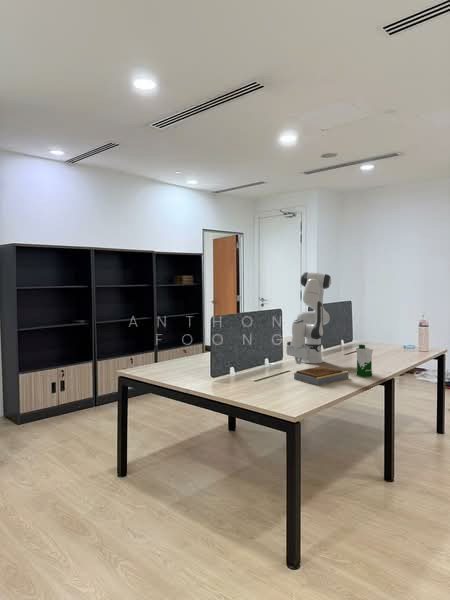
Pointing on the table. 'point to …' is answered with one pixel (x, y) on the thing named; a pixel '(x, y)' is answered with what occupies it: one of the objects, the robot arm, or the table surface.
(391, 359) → the table surface
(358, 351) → the milk carton
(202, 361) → the table surface
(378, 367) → the table surface
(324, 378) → the bay
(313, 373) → the diary
